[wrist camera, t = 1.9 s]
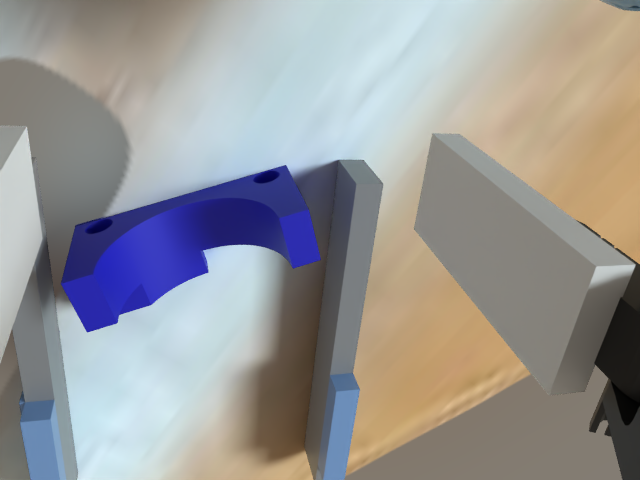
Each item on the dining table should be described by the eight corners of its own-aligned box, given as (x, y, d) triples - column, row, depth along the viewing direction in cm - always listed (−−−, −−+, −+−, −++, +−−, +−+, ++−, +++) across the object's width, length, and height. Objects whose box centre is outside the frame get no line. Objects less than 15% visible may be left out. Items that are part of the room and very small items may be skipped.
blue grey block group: (-4, 157, 29) (-30, 198, 25) (363, 160, 34) (392, 195, 30) (49, 476, 40) (37, 543, 36) (323, 443, 45) (340, 499, 41)
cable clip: (107, 289, 35) (99, 354, 30) (75, 224, 32) (60, 283, 27) (302, 230, 36) (326, 283, 31) (285, 163, 34) (308, 209, 28)
